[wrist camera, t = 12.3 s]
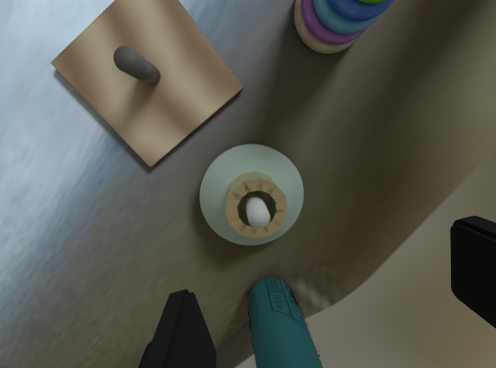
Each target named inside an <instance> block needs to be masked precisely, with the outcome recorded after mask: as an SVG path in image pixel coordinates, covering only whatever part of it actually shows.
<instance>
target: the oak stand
mask: <svg viewBox="0 0 496 368" xmlns="http://www.w3.org/2000/svg"><path fill="white" fill-rule="evenodd" d="M51 64H52V65H53V66H54V67H55V68H56V69H57V70H58V71H59V72H60V73H61V74H62V75H63V77H64V78H65V79H66V80H67V81H68V82H69V83H70V84H71V85H72V86H73V87H74V88H75V89H76V90H77V91H78V92H79V93H80V94H81V95H82V96H83V97H84V99H85V100H86V101H87V102H88V103H89V104H90V105H91V106H92V107H93V108H94V109H95V110H96V111H97V112H98V113H99V114H100V115H101V116H102V117H103V118H104V119H105V120H106V122H107V123H108V124H109V125H110V126H111V127H112V128H113V129H114V130H115V131H116V132H117V133H118V134H119V135H120V136H121V137H122V138H123V139H124V140H125V141H126V142H127V144H128V145H129V146H130V147H131V148H132V149H133V150H134V151H135V152H136V153H137V154H138V155H139V156H140V157H141V158H142V159H143V160H144V161H145V162H146V163H147V164H148V166H149V167H152V166H154V165H155V164H156V163H157V162H158V161H159V160H161V159H162V158H163V157H164V156H165V155H166V154H168V153H169V152H170V151H171V150H172V149H173V148H175V147H176V146H177V145H178V144H179V143H180V142H182V141H183V140H184V139H185V138H186V137H187V136H189V135H190V134H191V133H192V132H193V131H194V130H196V129H197V128H198V127H199V126H200V125H201V124H203V123H204V122H205V121H206V120H207V119H208V118H210V117H211V116H212V115H213V114H214V113H215V112H217V111H218V110H219V109H220V108H221V107H222V106H224V105H225V104H226V103H227V102H228V101H229V100H230V99H232V98H233V97H234V96H235V95H236V94H237V93H239V92H240V91H241V90H242V89H243V88H244V87H243V86H242V84H241V83H240V82H239V80H238V79H237V78H236V76H235V75H234V74H233V72H232V71H231V70H230V68H229V67H228V66H227V64H226V63H225V62H224V60H223V59H222V58H221V56H220V55H219V54H218V52H217V51H216V50H215V48H214V47H213V46H212V44H211V43H210V42H209V40H208V39H207V38H206V36H205V35H204V34H203V32H202V31H201V30H200V28H199V27H198V26H197V24H196V23H195V22H194V20H193V19H192V18H191V16H190V15H189V14H188V12H187V11H186V10H185V8H184V7H183V6H182V4H181V3H180V2H179V0H115V1H114V2H113V3H112V4H111V5H110V6H109V7H108V8H106V9H105V10H104V11H103V12H102V13H101V14H100V15H99V16H98V17H97V18H96V19H95V20H94V21H93V22H92V23H91V24H90V25H89V26H88V27H87V28H86V29H85V30H84V31H83V32H82V33H81V34H80V35H79V36H78V37H77V38H76V39H74V40H73V41H72V42H71V43H70V44H69V45H68V46H67V47H66V48H65V49H64V50H63V51H62V52H61V53H60V54H59V55H58V56H57V57H56V58H55V59H54V60H53V61H52V62H51Z"/></svg>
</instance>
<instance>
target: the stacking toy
mask: <svg viewBox="0 0 496 368" xmlns="http://www.w3.org/2000/svg"><path fill="white" fill-rule="evenodd" d="M393 1H394V0H296V2H295V9H294V19H295V26H296V29H297V32H298V34H299V36H300V38H301V39H302V41H303V42H304V43H305V44H306V45H307V46H308V47H310V48H311V49H313V50H315V51H317V52H320V53H326V54H330V53H336V52H339V51H342V50H344V49H346V48H348V47H349V46H351V45H352V44H353V43H354V42H355V41H356V40H357V39H358V38H359V36H360V35H361V34H362V33H363V32H364V31H365V30H366V29H367V27H369V26H370V25H371V24H372V23H373V22H375V21H376V20H377V18H378V17H379V16H380V15H381V13H382V12H384V11H385V10H386V9H387V8H388V7H389V6H390V5H391V4H392V3H393Z"/></svg>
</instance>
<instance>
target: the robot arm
mask: <svg viewBox="0 0 496 368" xmlns="http://www.w3.org/2000/svg"><path fill="white" fill-rule="evenodd" d="M450 233H451V234H450V235H451V288H452V292H453V293H454V295H455V296H456V297H457V298H458V299H459V300H460V301H461V302H463V303H464V304H465V305H466V306H468V307H469V308H470V309H471V310H473V311H474V312H475V313H477V314H478V315H479V316H480V317H482V318H483V319H484V320H486V321H487V322H488V323H489V324H491V325H492V326H493V327H494V328H496V223H494V222H492V221H489V220H486V219H484V218H481V217H478V216H470V217H467V218H462V219H459V220H456V221H455V222H454V223H453V226H452V227H451V230H450ZM138 368H216V351H215V347H214V344H213V342H212V339H211V336H210V334H209V331H208V328H207V326H206V323H205V320H204V318H203V315H202V312H201V310H200V307H199V304H198V302H197V299H196V296H195V294H194V293H193V292H191V293H189V291H188V290H187V289H185V290H181V291H177V292H174V293H171V294H170V295H169V297H168V300H167V302H166V305H165V308H164V311H163V313H162V316H161V319H160V321H159V324H158V327H157V329H156V332H155V335H154V337H153V340H152V341H151V342H150V343H149V344H148V345H147V347H146V349H145V352H144V354H143V357H142V359H141V362H140V365H139V367H138Z"/></svg>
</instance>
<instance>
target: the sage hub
mask: <svg viewBox="0 0 496 368" xmlns="http://www.w3.org/2000/svg"><path fill="white" fill-rule="evenodd" d="M253 171H258V172H260V173H263V174H266V175H269V176H270V177H271V178H272V180H273V181H274V182H275V183H276V185H277V186H278V187H279V188H280V190H281V191H282V192H283V193H284V194H285V196H286V200H287V208H288V213H287V215H286V217H285V220H284V222H283V224H282V226H281V227H280V228H278V229H277V230H276V231H275V232H273V233H272V234H271V235H269V236H264V237H259V238H250V237H247V236H244V235H241V234H238V233H237V231H236V230H235V229H234V228H233V227H232V226H231V225H230V224H229V223H228V219H227V213H226V208H225V202H226V194H227V191H228V189H229V186H230V183H231V182H232V181H233V180H234V179H236V178H237V177H238V176H239V175H240V174H242V173H247V172H253ZM303 199H304V188H303V183H302V179H301V176H300V174H299V172H298V170H297V169H296V167H295V166H294V164H293V163H292V162H291V161H290V160H289V159H288V158H287V157H286V156H285V155H283V154H282V153H280V152H278V151H276V150H274V149H272V148H270V147H268V146H265V145H261V144H255V143H247V144H240V145H236V146H234V147H231V148H229V149H227V150H225V151H224V152H222V153H221V154H220V155H218V156H217V157H216V158H215V159H214V161H213V162H212V163H211V164H210V166H209V168H208V170H207V171H206V173H205V175H204V178H203V180H202V184H201V187H200V206H201V210H202V213H203V215H204V218H205V220H206V221H207V223H208V224H209V226H210V227H211V228H212V229H213V230H214V231H215V232H216V233H217V234H218V235H220V236H221V237H222V238H224V239H226V240H228V241H230V242H233V243H236V244H240V245H261V244H265V243H268V242H271V241H273V240H275V239H277V238H279V237H280V236H282V235H283V234H284V233H286V232H287V231H288V230H289V229H290V228H291V227H292V225H293V224H294V223H295V221H296V220H297V218H298V216H299V214H300V212H301V209H302V205H303ZM269 200H270V196H269V193H266V192H263V191H260V190H258V191H252V192H248V193H247V194H246V195H245V196H243V197H242V198H241V199H240V202H239V204H238V206H239V207H240V208H241V209H242V210H243V211H245V212H247V217H248V222H249V224H250V225H251V226H252V227H254V228H263V227H265V226H266V225H267V224H268V223H269V221H270V214H269V212H268V210H267V205H268V202H269Z"/></svg>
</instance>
